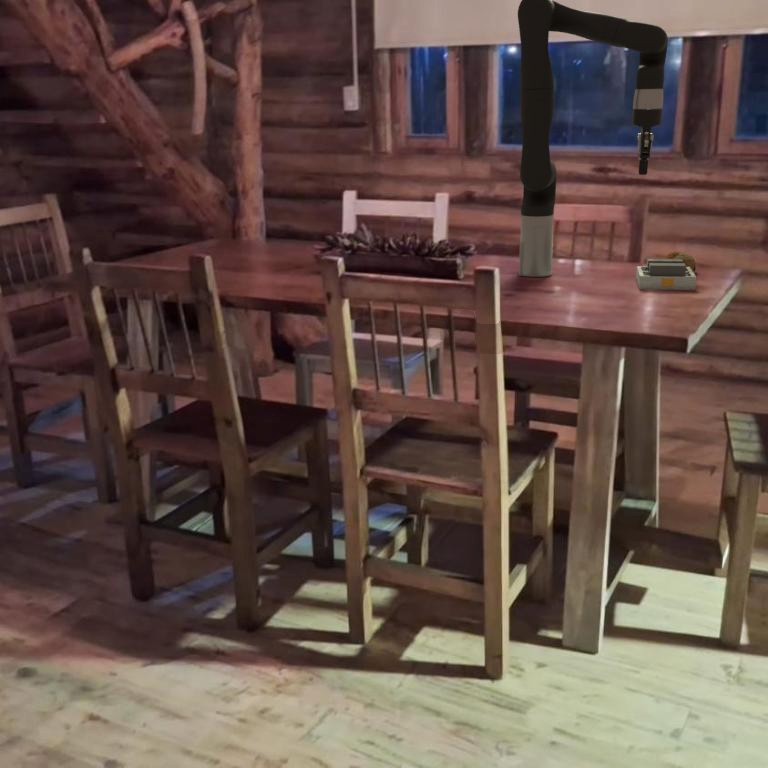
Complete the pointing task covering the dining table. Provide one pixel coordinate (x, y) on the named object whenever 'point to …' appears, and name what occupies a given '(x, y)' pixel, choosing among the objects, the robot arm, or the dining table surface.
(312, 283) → the dining table surface
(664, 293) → the dining table surface
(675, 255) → the bread roll
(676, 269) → the panel
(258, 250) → the dining table surface
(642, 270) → the rack
